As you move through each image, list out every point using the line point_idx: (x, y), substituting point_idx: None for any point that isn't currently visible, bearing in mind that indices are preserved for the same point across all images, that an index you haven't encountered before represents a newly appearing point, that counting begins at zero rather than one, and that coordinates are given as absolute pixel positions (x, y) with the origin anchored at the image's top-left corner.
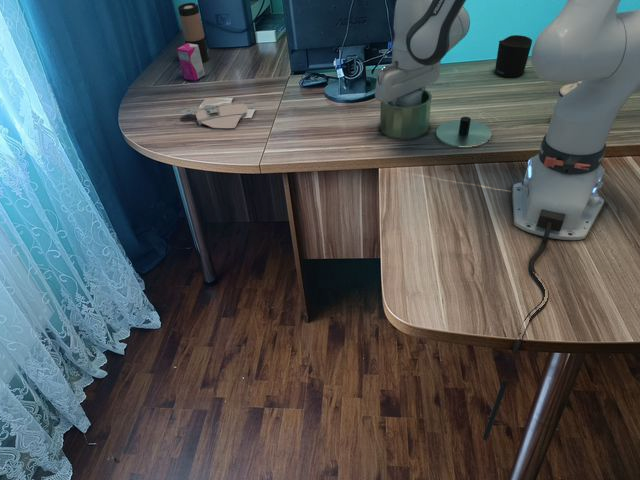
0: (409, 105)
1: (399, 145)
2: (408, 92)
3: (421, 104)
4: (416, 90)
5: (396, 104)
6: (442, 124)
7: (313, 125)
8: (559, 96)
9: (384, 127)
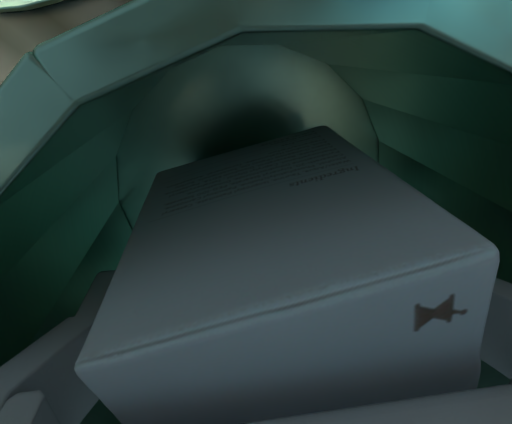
0: (416, 192)
1: None
2: (436, 415)
3: (371, 5)
4: (153, 416)
5: (497, 293)
6: (11, 1)
7: None
8: None
9: None
